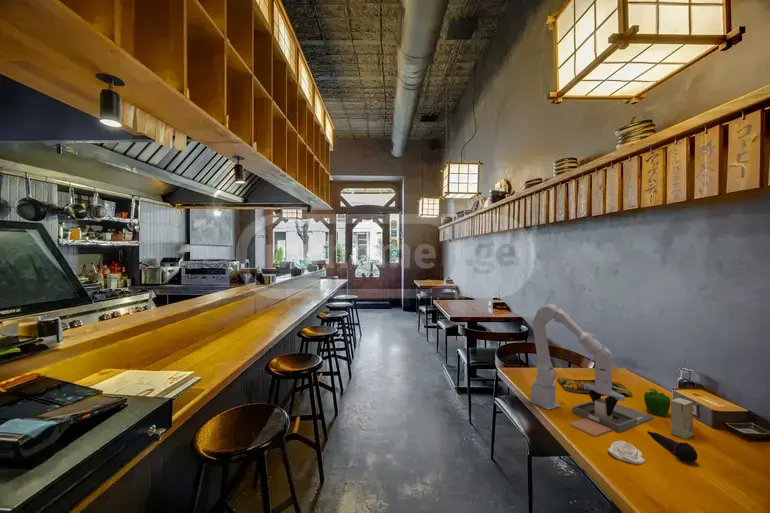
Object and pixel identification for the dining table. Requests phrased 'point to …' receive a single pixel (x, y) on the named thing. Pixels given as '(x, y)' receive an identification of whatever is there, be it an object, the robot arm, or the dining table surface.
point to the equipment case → (621, 414)
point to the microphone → (677, 447)
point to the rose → (626, 452)
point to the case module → (602, 409)
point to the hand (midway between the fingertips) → (603, 412)
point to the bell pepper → (657, 402)
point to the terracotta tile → (590, 427)
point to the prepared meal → (615, 385)
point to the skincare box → (682, 418)
